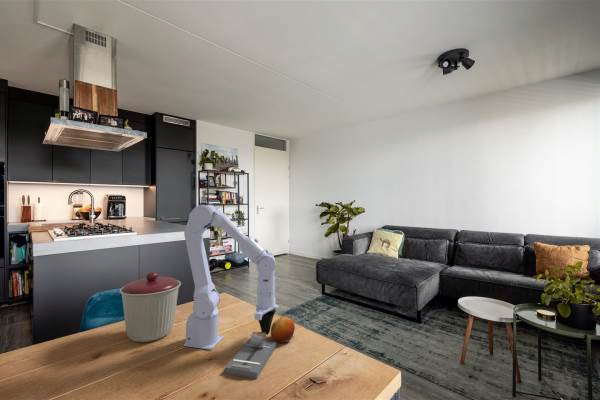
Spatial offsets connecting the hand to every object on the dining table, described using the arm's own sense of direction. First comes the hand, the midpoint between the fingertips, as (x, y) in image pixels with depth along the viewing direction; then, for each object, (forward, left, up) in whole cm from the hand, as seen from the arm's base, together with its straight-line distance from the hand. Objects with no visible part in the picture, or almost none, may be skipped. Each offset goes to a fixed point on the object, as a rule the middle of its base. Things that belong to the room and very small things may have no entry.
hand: (265, 333), depth 87 cm
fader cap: (0, -7, -1) cm, 7 cm away
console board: (0, -10, -2) cm, 11 cm away
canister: (-39, -5, -3) cm, 39 cm away
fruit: (+5, +3, -3) cm, 6 cm away
